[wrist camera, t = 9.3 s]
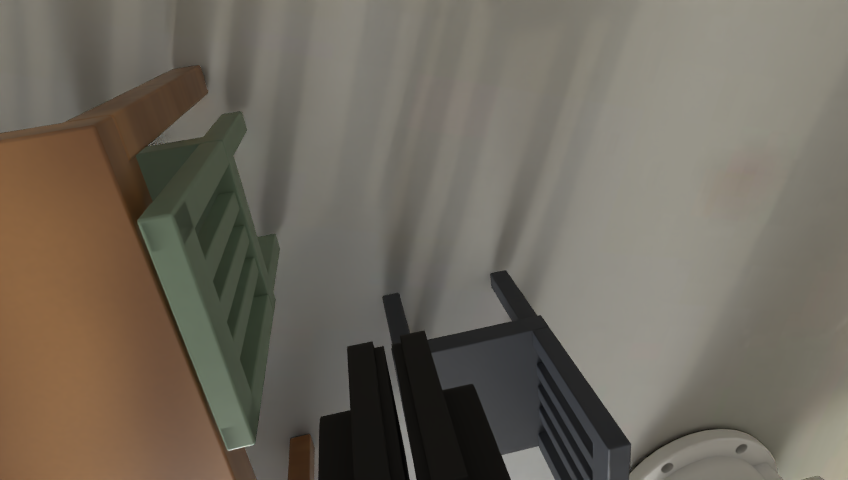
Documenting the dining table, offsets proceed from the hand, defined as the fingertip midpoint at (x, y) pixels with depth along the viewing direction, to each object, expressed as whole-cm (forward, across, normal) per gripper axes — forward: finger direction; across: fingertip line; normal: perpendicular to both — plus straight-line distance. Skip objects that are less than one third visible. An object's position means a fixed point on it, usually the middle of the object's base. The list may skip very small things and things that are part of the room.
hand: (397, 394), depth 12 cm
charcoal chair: (+16, -3, +10) cm, 19 cm away
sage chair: (+16, +8, -1) cm, 17 cm away
